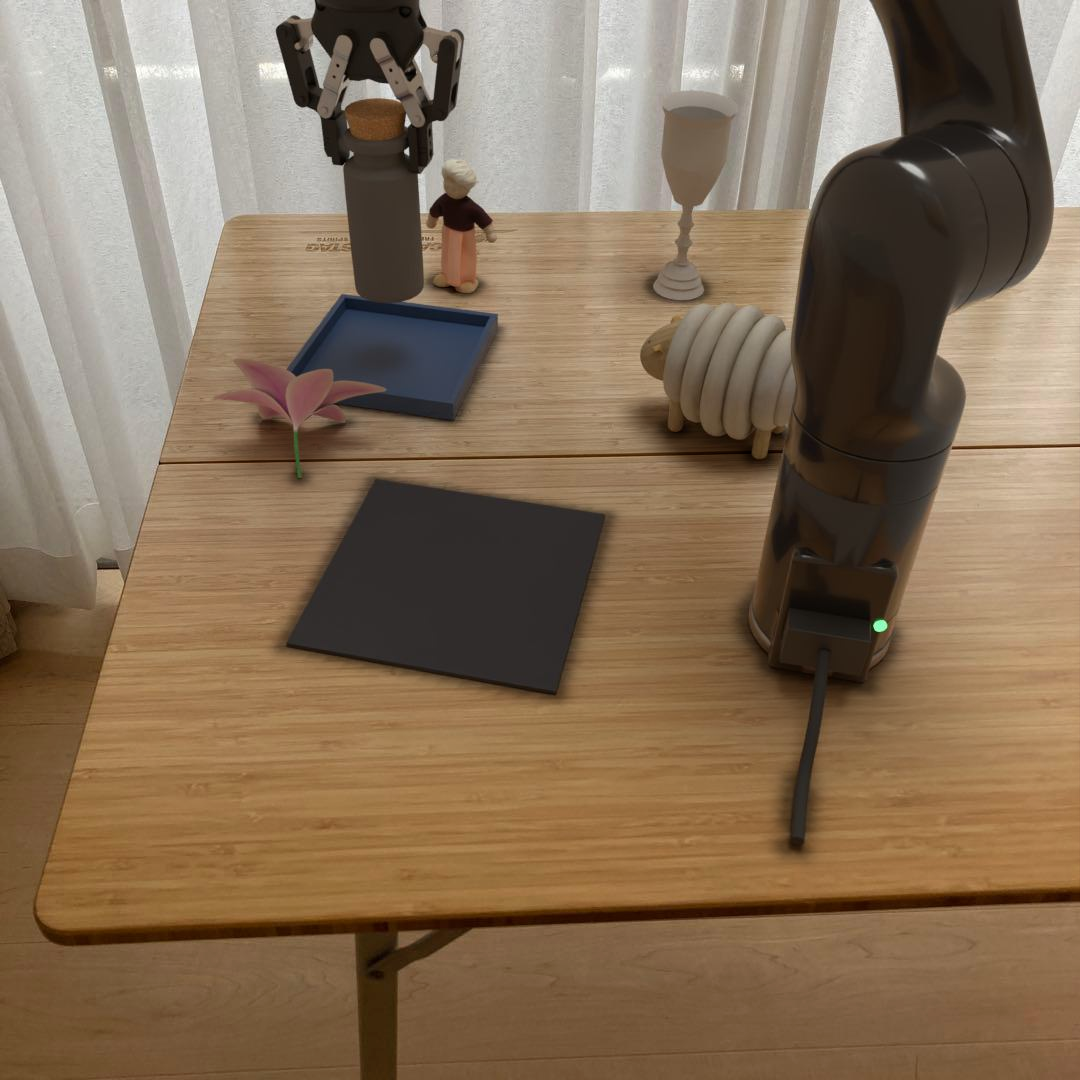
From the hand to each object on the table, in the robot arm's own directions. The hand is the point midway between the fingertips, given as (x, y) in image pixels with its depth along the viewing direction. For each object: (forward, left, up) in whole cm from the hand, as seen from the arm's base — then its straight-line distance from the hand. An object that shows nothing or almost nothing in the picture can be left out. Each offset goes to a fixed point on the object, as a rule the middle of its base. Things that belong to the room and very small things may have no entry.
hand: (380, 165), depth 87 cm
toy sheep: (-4, -30, -18) cm, 35 cm away
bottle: (0, 0, -11) cm, 11 cm away
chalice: (+20, -23, -18) cm, 36 cm away
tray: (0, 0, -18) cm, 18 cm away
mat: (-26, -13, -18) cm, 34 cm away
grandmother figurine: (+15, -2, -18) cm, 24 cm away
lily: (-14, +3, -18) cm, 23 cm away
